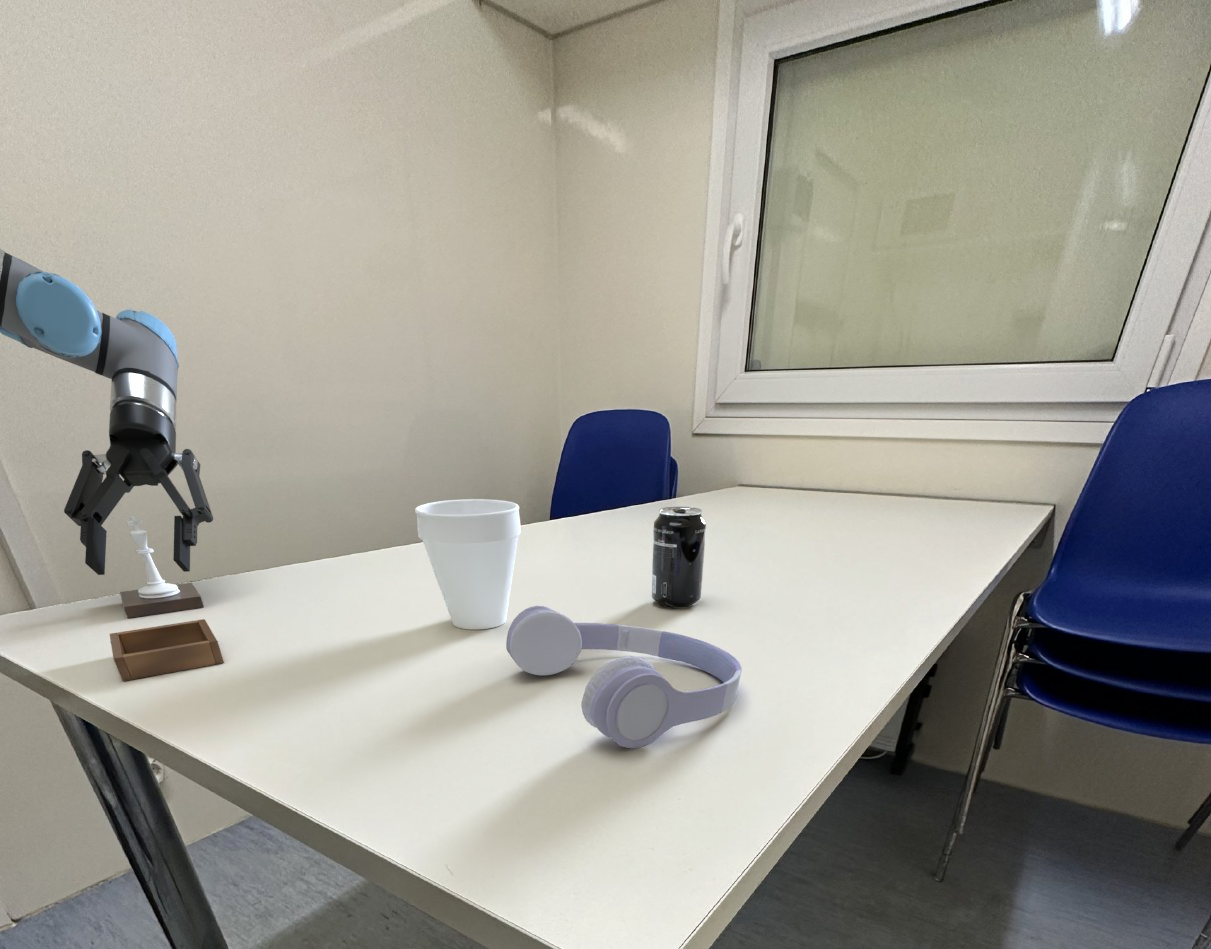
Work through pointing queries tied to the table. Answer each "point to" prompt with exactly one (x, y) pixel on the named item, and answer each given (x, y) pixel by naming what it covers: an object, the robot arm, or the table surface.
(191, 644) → the oak box
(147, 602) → the walnut stand
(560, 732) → the table surface
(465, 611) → the cup
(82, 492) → the robot arm
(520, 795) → the table surface
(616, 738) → the headphones
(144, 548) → the chess piece
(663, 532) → the beverage can
